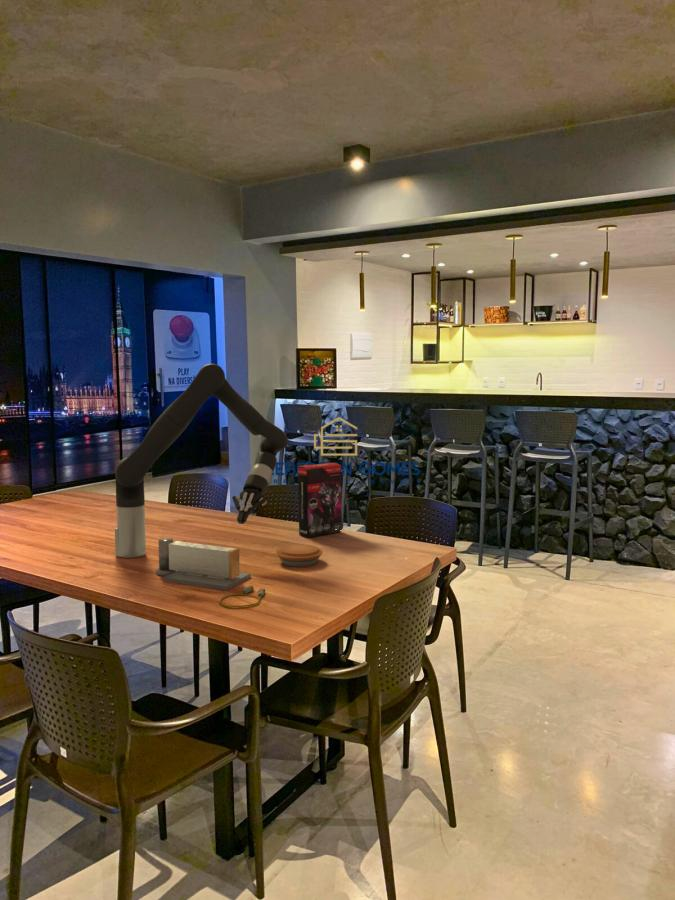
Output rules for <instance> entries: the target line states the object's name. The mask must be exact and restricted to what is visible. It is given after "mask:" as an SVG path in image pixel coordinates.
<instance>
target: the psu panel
mask: <svg viewBox="0 0 675 900" xmlns="http://www.w3.org/2000/svg"><path fill="white" fill-rule="evenodd" d="M156 575H158V576H162V581H163V582H168V583H174V584H175V583H176V584H181V585H188V586H189V585H190V586H193V587H195V586H196V587H201V588H208V589H215V590H221V591H228V590H229V589H232V588H233V587H235V586H237V585H239V584H241V583H243V582H245V581H247V580H248V579H250V578H251V577H252V576H251V575H252V574H251V572H243V571H240V575H239V576H237V577H236V578H234V579H229V578H225V577H218V576H211V575H204V574H197V573H190V572H184V571H177V570H160V569H159V567H158V568H157V569H156Z"/></svg>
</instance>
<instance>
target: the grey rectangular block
mask: <svg viewBox="0 0 675 900" xmlns="http://www.w3.org/2000/svg"><path fill="white" fill-rule="evenodd" d="M240 567H241V566H240V547H235V548H234V547H226V546H218V545H211V544H202V543H196V542H195V543H194V542H186V541H180V540H179V541H178V540H176V541H174V539H173V538H169V537H168V538H167V537H165V538H161V539H160V538H159V539H158V568H159V569H160V570H176V571H184V572H190V573H197V574H204V575H211V576H218V577H225V578H229V579H234V578H236V577H237V576H239V575H240V572H241V571H240Z"/></svg>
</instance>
